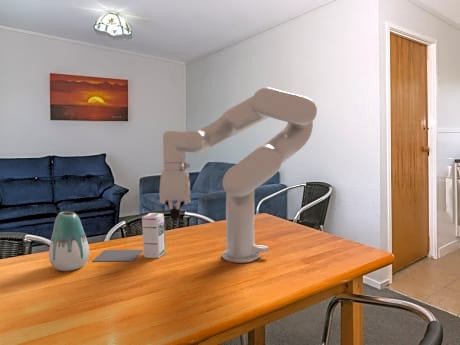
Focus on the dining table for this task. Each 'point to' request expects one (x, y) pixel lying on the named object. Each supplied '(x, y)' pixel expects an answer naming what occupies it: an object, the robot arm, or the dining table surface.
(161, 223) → the syrup box
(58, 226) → the vase
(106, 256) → the mat
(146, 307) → the dining table surface
